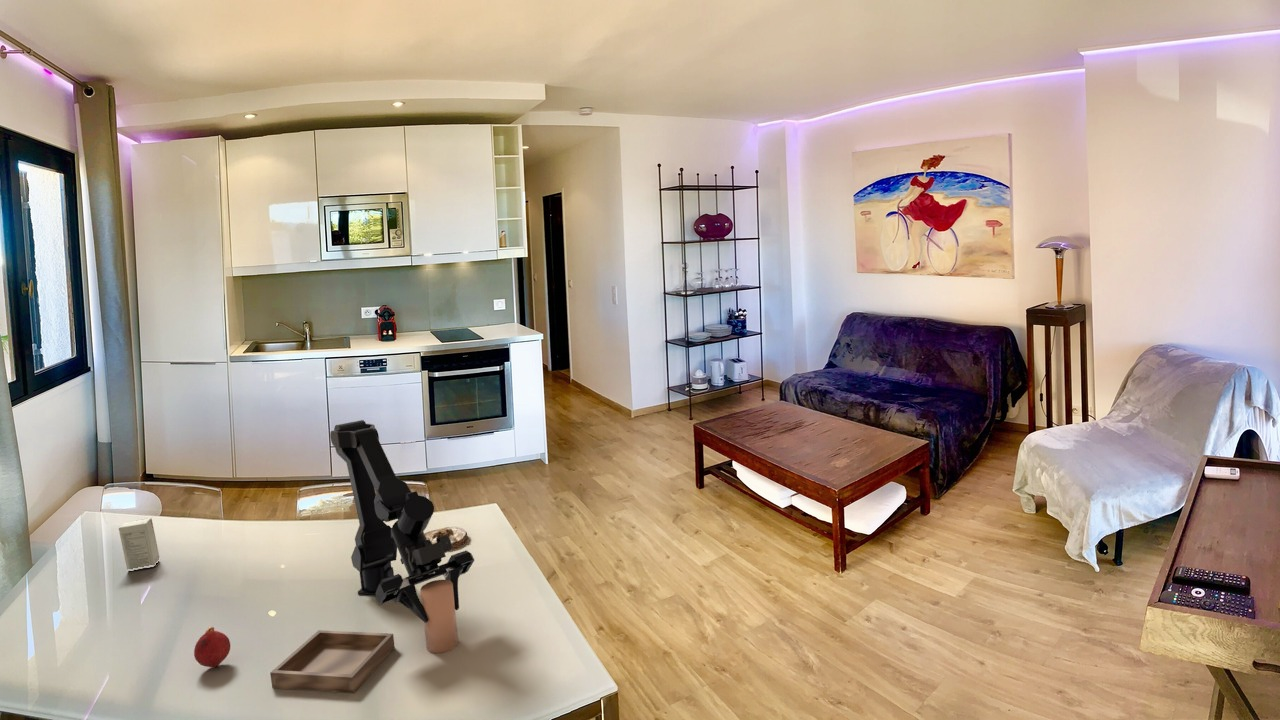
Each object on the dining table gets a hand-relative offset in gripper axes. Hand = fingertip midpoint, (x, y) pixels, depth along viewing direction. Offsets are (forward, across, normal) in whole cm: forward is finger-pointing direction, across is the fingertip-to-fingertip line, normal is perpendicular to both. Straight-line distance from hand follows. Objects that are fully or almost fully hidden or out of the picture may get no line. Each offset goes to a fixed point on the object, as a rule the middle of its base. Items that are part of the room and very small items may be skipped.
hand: (442, 615), depth 132 cm
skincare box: (-61, -39, +71) cm, 102 cm away
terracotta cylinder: (+4, 0, +6) cm, 7 cm away
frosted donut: (-29, +23, +39) cm, 54 cm away
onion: (-14, -34, +23) cm, 44 cm away
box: (-2, -18, +11) cm, 21 cm away
